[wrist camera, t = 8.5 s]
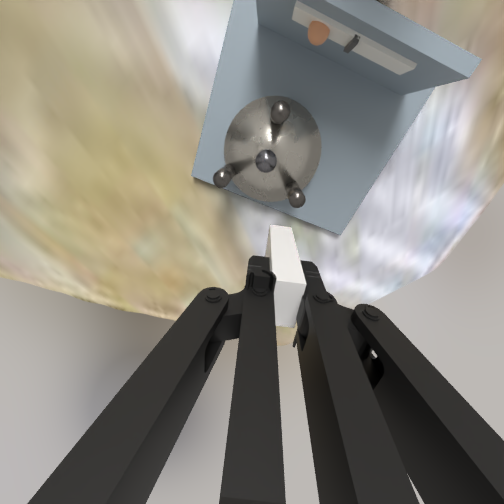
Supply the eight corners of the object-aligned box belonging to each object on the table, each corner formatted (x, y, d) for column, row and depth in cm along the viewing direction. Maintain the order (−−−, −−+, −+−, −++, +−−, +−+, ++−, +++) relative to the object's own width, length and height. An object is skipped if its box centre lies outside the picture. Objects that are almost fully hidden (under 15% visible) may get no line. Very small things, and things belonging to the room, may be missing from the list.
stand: (193, 174, 33) (162, 192, 23) (238, -10, 24) (219, -109, 14) (338, 232, 36) (365, 270, 26) (428, 88, 27) (522, 64, 17)
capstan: (268, 215, 34) (269, 236, 27) (206, 154, 30) (190, 161, 24) (337, 152, 29) (357, 158, 23) (273, 71, 26) (276, 51, 19)
